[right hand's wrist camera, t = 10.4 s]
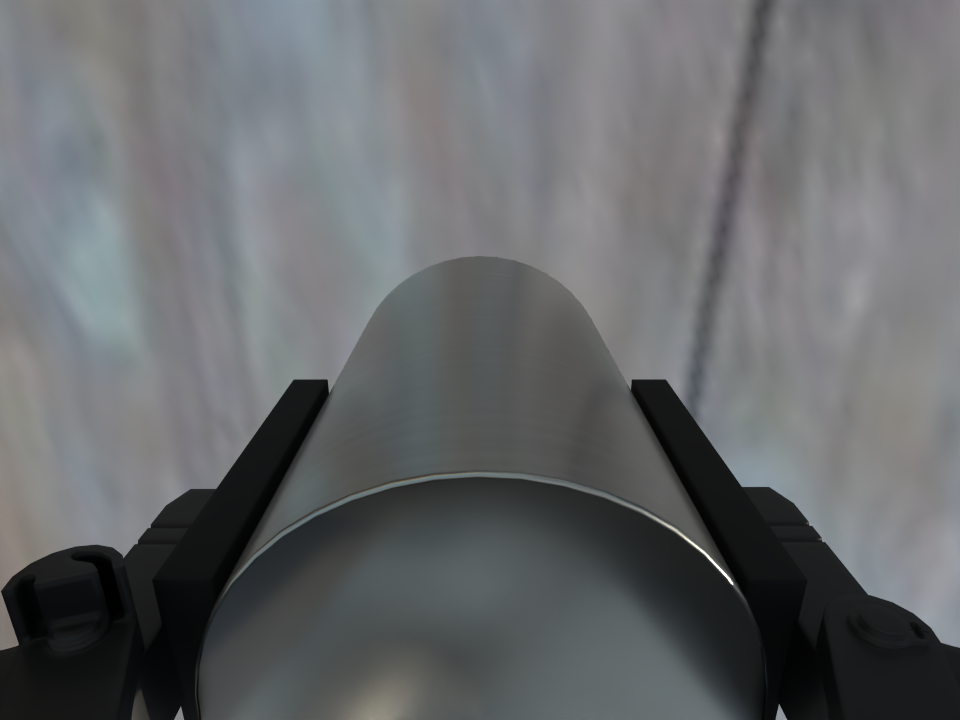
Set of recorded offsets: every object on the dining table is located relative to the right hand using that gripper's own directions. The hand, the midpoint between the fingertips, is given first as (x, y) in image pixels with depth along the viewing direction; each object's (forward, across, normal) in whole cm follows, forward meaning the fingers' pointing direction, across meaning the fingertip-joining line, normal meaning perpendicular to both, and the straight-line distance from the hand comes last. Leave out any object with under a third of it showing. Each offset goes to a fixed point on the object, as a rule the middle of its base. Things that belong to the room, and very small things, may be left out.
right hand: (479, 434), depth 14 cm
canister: (+3, 0, 0) cm, 3 cm away
